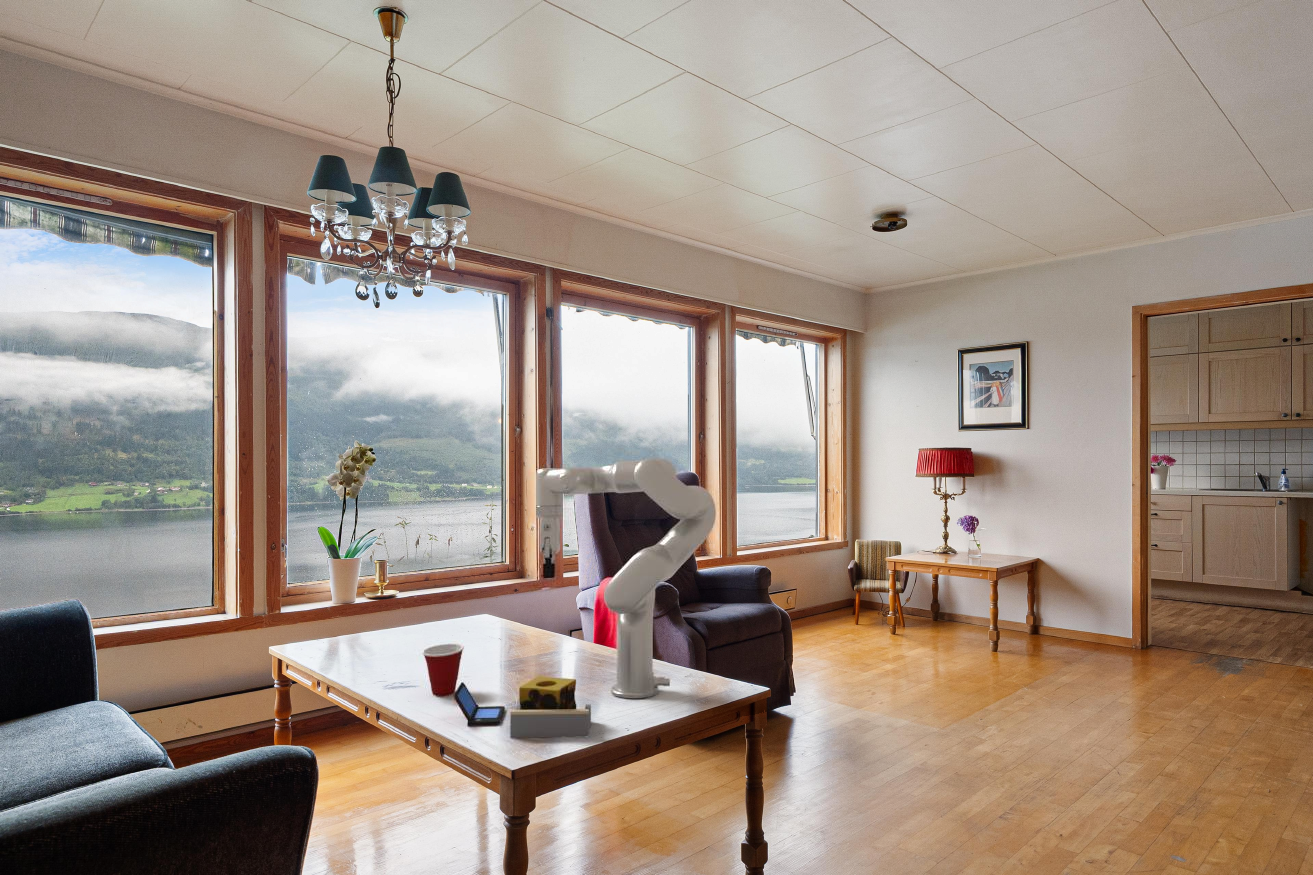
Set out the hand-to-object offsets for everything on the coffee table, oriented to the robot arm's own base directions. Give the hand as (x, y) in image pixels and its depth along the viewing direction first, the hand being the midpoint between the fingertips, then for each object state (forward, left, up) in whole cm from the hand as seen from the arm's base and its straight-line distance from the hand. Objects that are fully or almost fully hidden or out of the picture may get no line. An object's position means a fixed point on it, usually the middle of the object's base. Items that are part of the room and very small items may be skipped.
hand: (548, 577), depth 215 cm
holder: (-5, +39, -29) cm, 49 cm away
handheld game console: (+13, +30, -30) cm, 44 cm away
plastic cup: (+27, +9, -29) cm, 41 cm away
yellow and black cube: (-4, +37, -29) cm, 47 cm away
